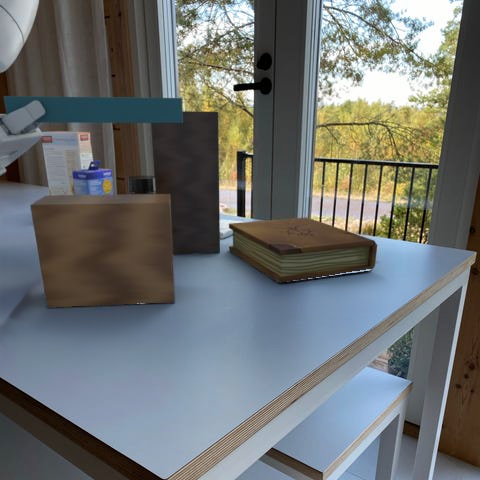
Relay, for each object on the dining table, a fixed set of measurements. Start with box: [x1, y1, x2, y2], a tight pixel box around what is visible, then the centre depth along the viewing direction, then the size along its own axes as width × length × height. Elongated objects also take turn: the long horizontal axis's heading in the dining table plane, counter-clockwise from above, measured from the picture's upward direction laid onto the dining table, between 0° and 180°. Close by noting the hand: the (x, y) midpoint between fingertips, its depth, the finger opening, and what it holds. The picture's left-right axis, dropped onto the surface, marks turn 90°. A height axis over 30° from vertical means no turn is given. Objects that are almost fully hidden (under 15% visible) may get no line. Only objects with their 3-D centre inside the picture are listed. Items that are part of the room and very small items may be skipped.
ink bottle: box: [127, 175, 156, 194], centre depth 113 cm, size 10×9×12 cm
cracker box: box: [40, 130, 94, 195], centre depth 144 cm, size 14×6×21 cm, turn 66°
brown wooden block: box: [29, 193, 176, 309], centre depth 69 cm, size 18×8×14 cm, turn 97°
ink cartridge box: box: [72, 160, 114, 195], centre depth 126 cm, size 10×6×14 cm, turn 154°
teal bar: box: [3, 95, 183, 124], centre depth 62 cm, size 22×3×3 cm, turn 98°
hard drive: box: [220, 218, 243, 240], centre depth 112 cm, size 2×8×12 cm
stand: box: [150, 110, 221, 255], centre depth 93 cm, size 12×8×26 cm, turn 97°
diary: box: [228, 216, 378, 283], centre depth 89 cm, size 23×19×6 cm
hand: (47, 106), depth 61 cm, fingers closed on teal bar, 3 cm apart
